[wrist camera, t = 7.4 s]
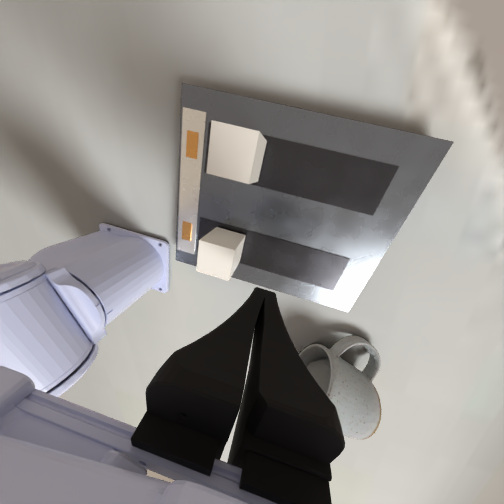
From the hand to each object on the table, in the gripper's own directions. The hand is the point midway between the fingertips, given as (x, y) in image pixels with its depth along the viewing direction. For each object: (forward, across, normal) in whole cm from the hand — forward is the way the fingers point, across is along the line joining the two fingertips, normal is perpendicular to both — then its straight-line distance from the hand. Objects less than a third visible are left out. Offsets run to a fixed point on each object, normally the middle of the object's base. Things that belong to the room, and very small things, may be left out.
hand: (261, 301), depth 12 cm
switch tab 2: (+7, +4, 0) cm, 8 cm away
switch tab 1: (+7, +4, -8) cm, 12 cm away
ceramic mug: (+10, -12, +13) cm, 20 cm away
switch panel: (+9, 0, -4) cm, 10 cm away
